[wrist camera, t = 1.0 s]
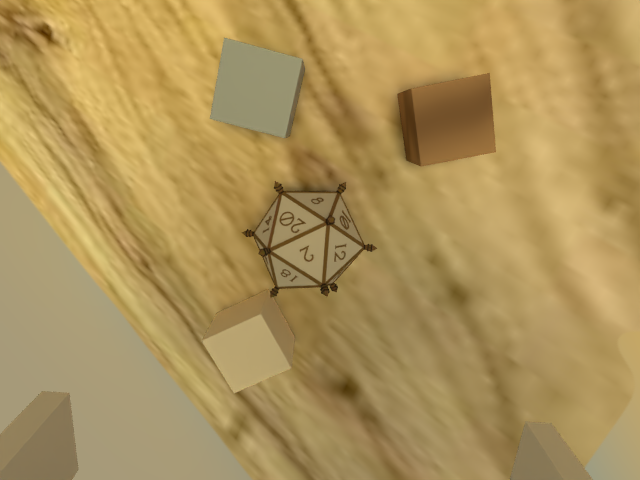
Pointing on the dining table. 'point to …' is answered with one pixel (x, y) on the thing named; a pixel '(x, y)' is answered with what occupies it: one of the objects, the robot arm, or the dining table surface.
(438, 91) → the walnut block
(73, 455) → the robot arm
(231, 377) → the cream block
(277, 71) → the slate-blue block
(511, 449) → the dining table surface
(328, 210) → the game die
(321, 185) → the dining table surface
